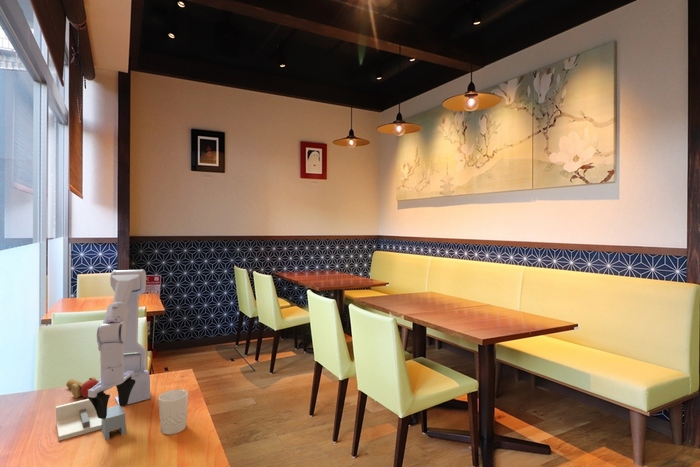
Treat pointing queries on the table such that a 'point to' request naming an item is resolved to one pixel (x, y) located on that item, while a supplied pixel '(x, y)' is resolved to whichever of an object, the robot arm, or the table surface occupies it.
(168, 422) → the white cup
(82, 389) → the kendama
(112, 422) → the block
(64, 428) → the board
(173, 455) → the table surface
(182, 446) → the table surface
